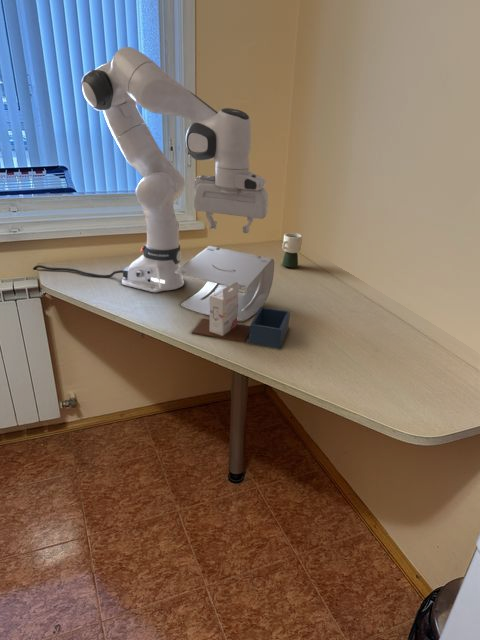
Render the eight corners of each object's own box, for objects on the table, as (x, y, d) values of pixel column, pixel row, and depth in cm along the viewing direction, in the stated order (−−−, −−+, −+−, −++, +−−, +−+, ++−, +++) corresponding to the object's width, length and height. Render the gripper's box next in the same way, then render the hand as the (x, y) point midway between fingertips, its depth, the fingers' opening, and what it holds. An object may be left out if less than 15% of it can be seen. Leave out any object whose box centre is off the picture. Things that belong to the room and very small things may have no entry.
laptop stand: (274, 300, 167) (278, 256, 160) (242, 325, 149) (245, 278, 142) (210, 284, 178) (211, 243, 170) (174, 306, 160) (173, 261, 152)
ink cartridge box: (223, 321, 150) (225, 276, 143) (237, 325, 148) (239, 280, 141) (208, 332, 144) (209, 285, 136) (222, 336, 142) (224, 289, 134)
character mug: (292, 261, 204) (295, 230, 197) (305, 266, 199) (309, 235, 193) (274, 266, 197) (277, 235, 191) (287, 271, 193) (290, 239, 186)
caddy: (248, 343, 140) (250, 324, 137) (259, 324, 151) (260, 306, 148) (279, 348, 138) (281, 330, 135) (288, 329, 149) (290, 311, 146)
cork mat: (191, 333, 144) (191, 332, 143) (202, 319, 152) (202, 318, 152) (244, 342, 140) (244, 340, 140) (252, 327, 148) (252, 326, 148)
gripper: (190, 176, 127) (189, 228, 133) (266, 184, 122) (262, 238, 129) (198, 172, 132) (197, 223, 139) (271, 180, 127) (267, 232, 134)
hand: (229, 230), depth 134 cm, fingers open, 8 cm apart
